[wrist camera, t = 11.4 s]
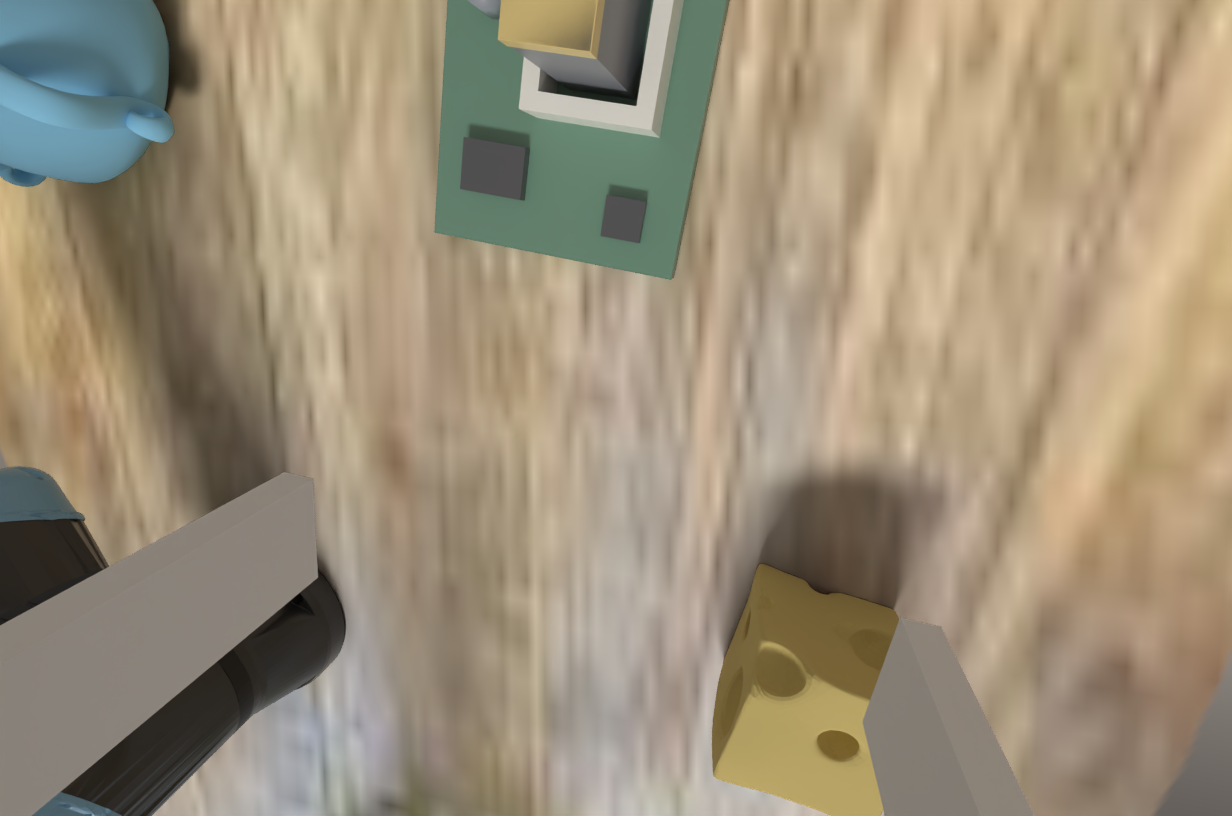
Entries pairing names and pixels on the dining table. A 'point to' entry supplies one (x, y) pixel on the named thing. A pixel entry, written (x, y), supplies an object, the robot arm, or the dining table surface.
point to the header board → (575, 143)
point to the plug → (580, 41)
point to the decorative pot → (80, 88)
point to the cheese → (801, 695)
